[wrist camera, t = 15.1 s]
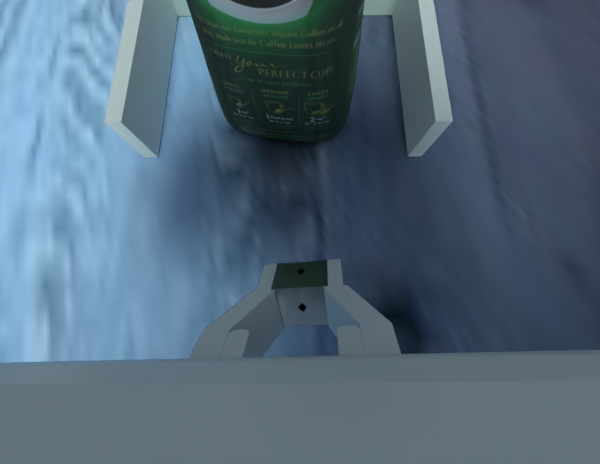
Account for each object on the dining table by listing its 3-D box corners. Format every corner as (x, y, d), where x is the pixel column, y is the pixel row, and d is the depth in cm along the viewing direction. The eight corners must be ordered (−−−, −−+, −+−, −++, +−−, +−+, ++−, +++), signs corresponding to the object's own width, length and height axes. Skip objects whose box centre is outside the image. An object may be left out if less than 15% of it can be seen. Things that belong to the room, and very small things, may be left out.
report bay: (421, 156, 19) (452, 120, 15) (144, 157, 19) (103, 122, 15) (402, 6, 22) (424, -56, 18) (167, 7, 22) (139, -54, 18)
